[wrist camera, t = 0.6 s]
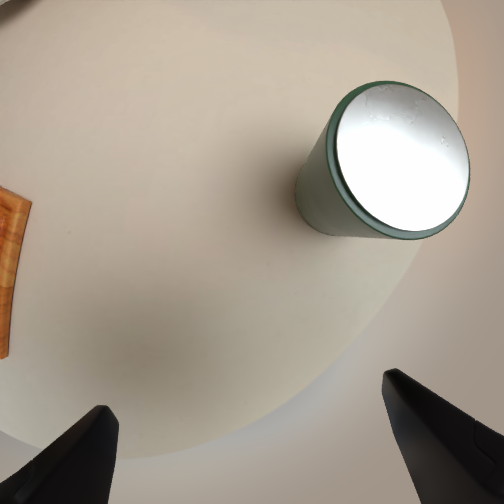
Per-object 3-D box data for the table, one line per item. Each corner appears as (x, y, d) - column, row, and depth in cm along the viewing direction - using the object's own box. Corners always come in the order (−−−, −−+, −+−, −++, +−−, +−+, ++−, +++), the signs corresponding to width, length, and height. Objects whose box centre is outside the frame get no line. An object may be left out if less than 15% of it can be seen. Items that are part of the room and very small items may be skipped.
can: (384, 222, 22) (491, 214, 9) (309, 246, 22) (360, 263, 10) (359, 145, 22) (438, 70, 9) (283, 166, 22) (301, 92, 10)
